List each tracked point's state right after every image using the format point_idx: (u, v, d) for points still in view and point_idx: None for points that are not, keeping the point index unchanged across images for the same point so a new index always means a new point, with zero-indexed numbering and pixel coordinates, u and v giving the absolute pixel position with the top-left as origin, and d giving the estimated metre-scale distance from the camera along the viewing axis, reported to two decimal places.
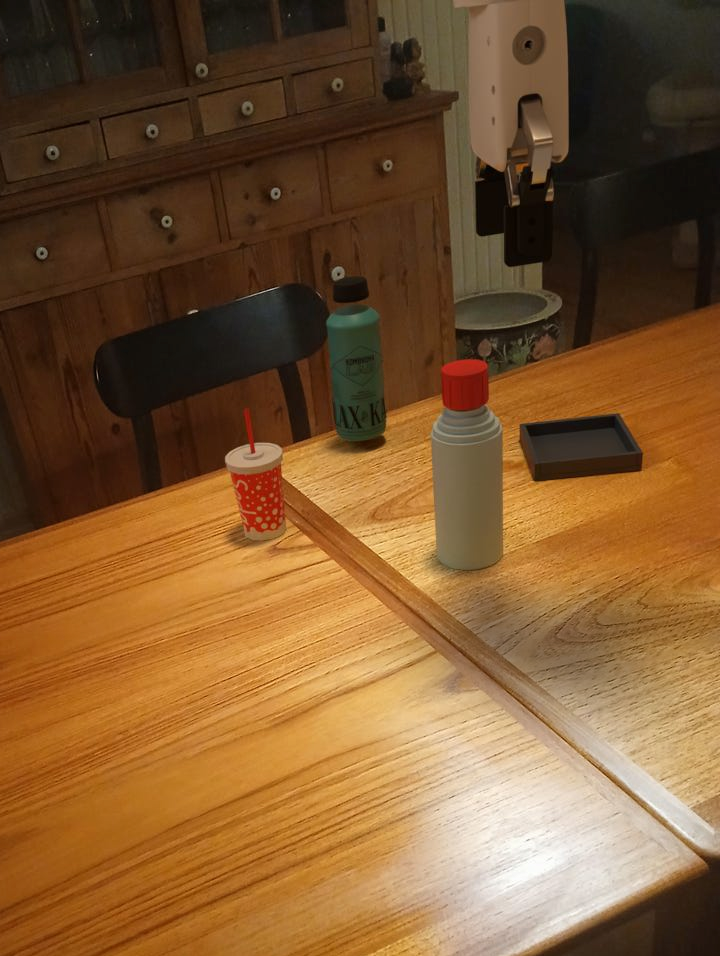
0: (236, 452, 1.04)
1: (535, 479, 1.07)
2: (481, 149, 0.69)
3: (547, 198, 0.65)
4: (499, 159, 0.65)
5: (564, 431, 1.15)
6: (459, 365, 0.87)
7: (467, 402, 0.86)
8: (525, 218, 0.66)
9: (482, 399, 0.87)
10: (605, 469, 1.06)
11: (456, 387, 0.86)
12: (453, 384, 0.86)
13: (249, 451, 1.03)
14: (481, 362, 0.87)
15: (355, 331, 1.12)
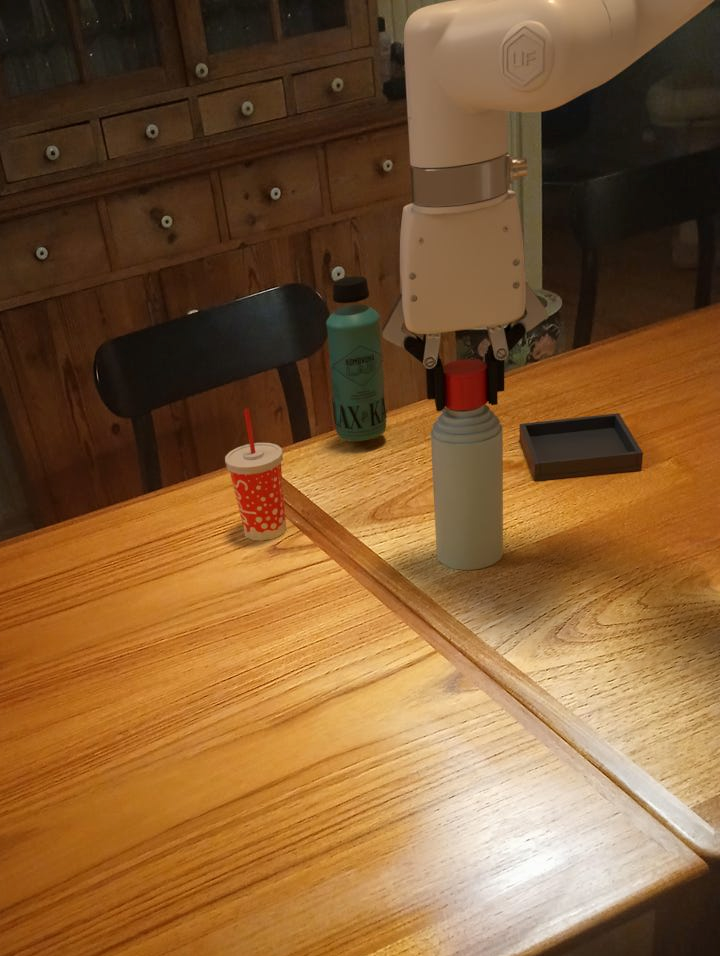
0: (236, 452, 1.04)
1: (535, 479, 1.07)
2: (467, 318, 0.82)
3: None
4: (520, 311, 0.82)
5: (564, 431, 1.15)
6: (459, 365, 0.87)
7: (467, 402, 0.86)
8: (503, 364, 0.86)
9: (482, 399, 0.87)
10: (605, 469, 1.06)
11: (456, 387, 0.86)
12: (453, 384, 0.86)
13: (249, 451, 1.03)
14: (481, 362, 0.87)
15: (355, 331, 1.12)
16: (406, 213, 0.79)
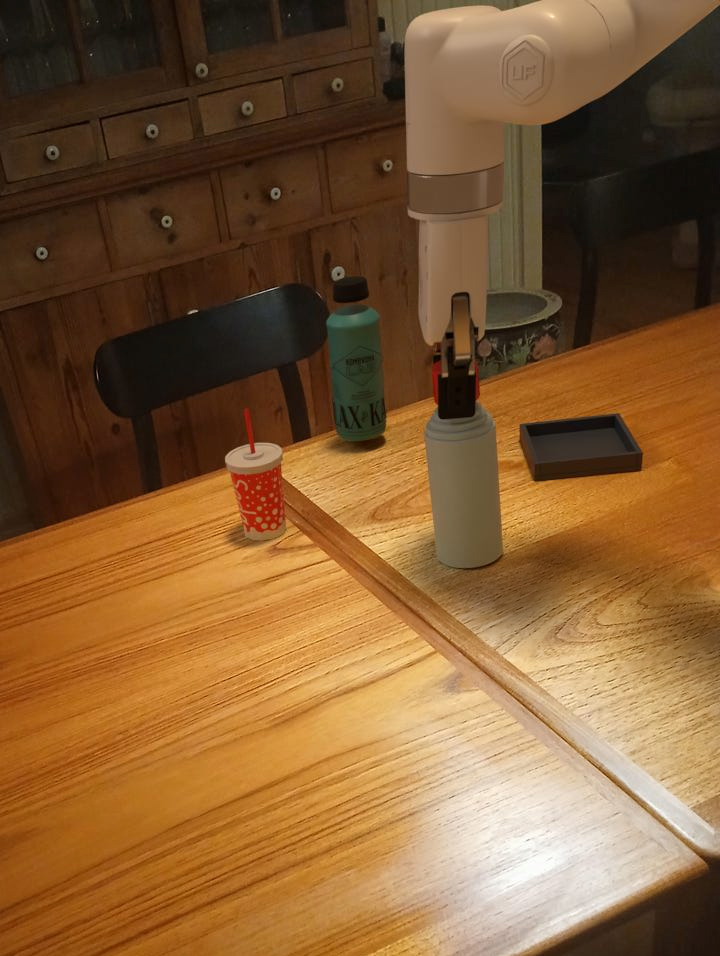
0: (236, 452, 1.04)
1: (535, 479, 1.07)
2: None
3: None
4: None
5: (564, 431, 1.15)
6: None
7: (478, 387, 0.88)
8: None
9: None
10: (605, 469, 1.06)
11: (476, 376, 0.86)
12: None
13: (249, 451, 1.03)
14: None
15: (355, 331, 1.12)
16: (470, 221, 0.76)
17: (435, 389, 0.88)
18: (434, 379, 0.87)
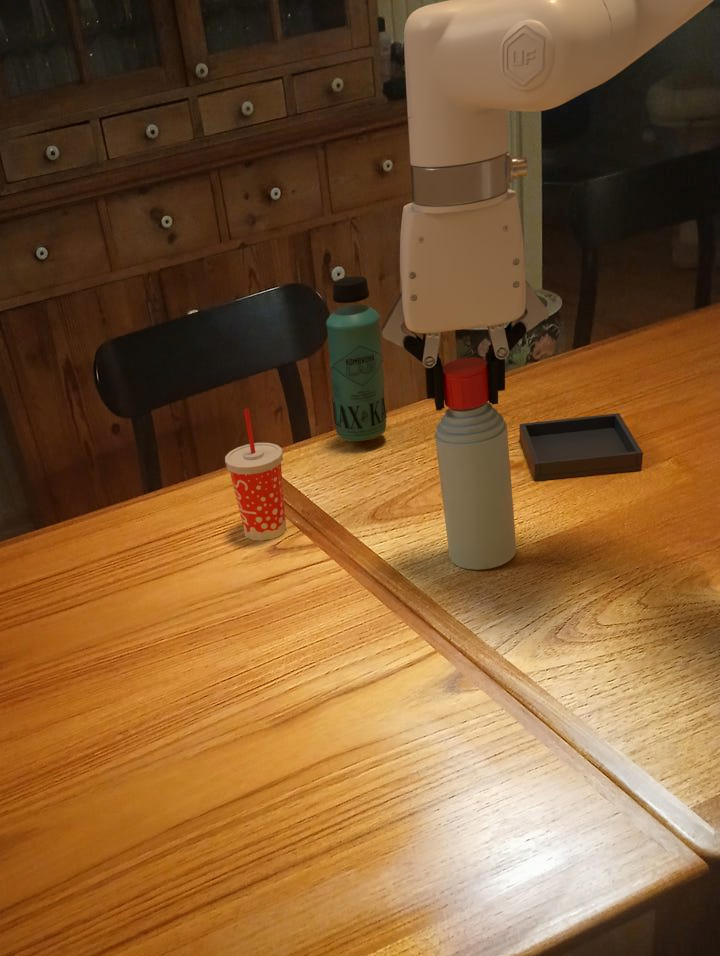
0: (236, 452, 1.04)
1: (535, 479, 1.07)
2: (467, 317, 0.82)
3: None
4: (521, 310, 0.82)
5: (564, 431, 1.15)
6: (457, 368, 0.86)
7: None
8: (504, 363, 0.86)
9: None
10: (605, 469, 1.06)
11: (487, 377, 0.86)
12: (485, 376, 0.85)
13: (249, 451, 1.03)
14: (454, 361, 0.87)
15: (355, 331, 1.12)
16: (406, 212, 0.79)
17: (445, 392, 0.87)
18: (444, 382, 0.86)
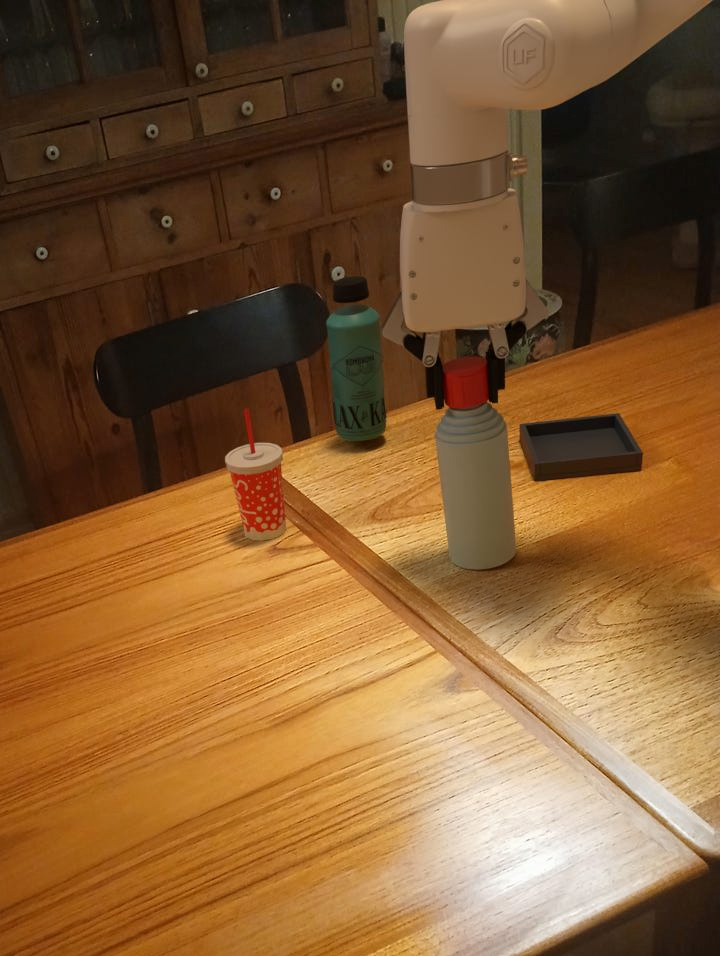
0: (236, 452, 1.04)
1: (535, 479, 1.07)
2: (467, 316, 0.82)
3: None
4: (520, 309, 0.82)
5: (564, 431, 1.15)
6: (469, 366, 0.85)
7: None
8: (504, 363, 0.86)
9: None
10: (605, 469, 1.06)
11: None
12: None
13: (249, 451, 1.03)
14: (447, 371, 0.86)
15: (355, 331, 1.12)
16: (406, 211, 0.79)
17: (477, 389, 0.85)
18: (476, 379, 0.85)
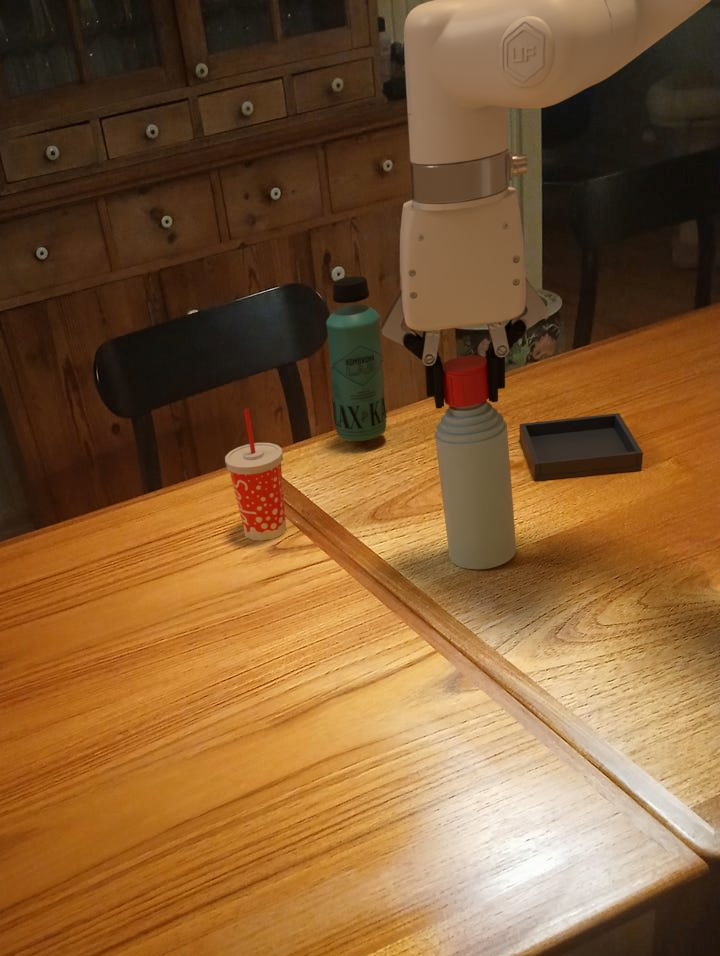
0: (236, 452, 1.04)
1: (535, 479, 1.07)
2: (467, 315, 0.82)
3: None
4: (520, 308, 0.81)
5: (564, 431, 1.15)
6: (470, 361, 0.86)
7: (444, 395, 0.88)
8: (504, 361, 0.86)
9: (452, 400, 0.87)
10: (605, 469, 1.06)
11: None
12: None
13: (249, 451, 1.03)
14: (474, 368, 0.85)
15: (355, 331, 1.12)
16: (406, 210, 0.79)
17: None
18: None
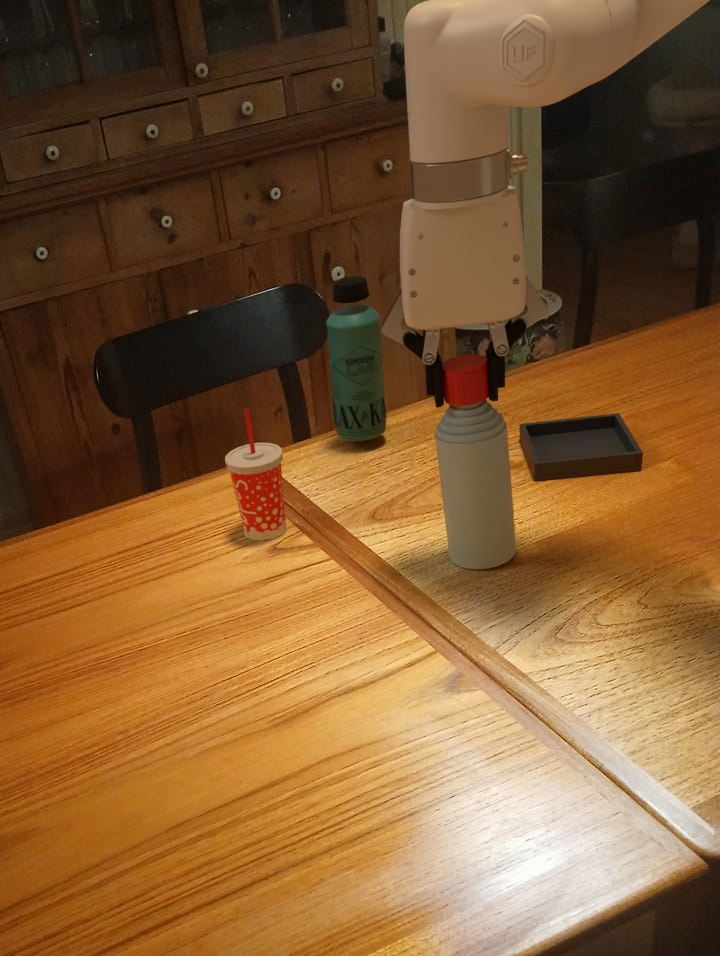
0: (236, 452, 1.04)
1: (535, 479, 1.07)
2: (467, 314, 0.82)
3: None
4: (520, 307, 0.81)
5: (564, 431, 1.15)
6: (458, 361, 0.87)
7: (470, 396, 0.86)
8: (504, 360, 0.85)
9: (485, 393, 0.86)
10: (605, 469, 1.06)
11: (458, 383, 0.85)
12: (455, 380, 0.85)
13: (249, 451, 1.03)
14: (480, 356, 0.86)
15: (355, 331, 1.12)
16: (406, 208, 0.79)
17: None
18: None
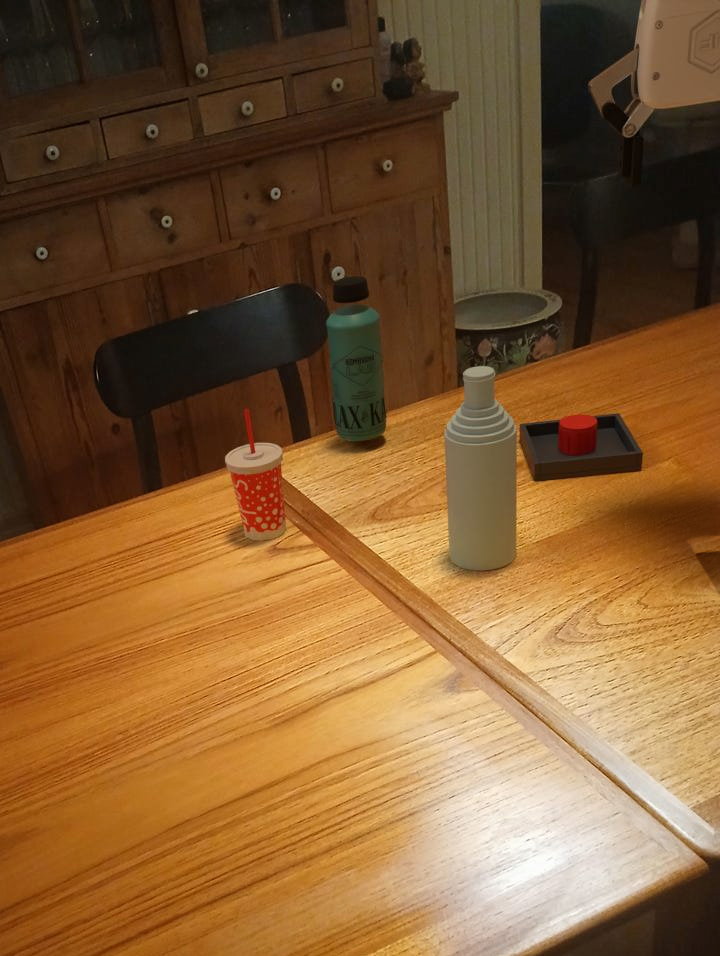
0: (236, 452, 1.04)
1: (535, 479, 1.07)
2: None
3: (621, 133, 0.81)
4: None
5: None
6: (583, 422, 1.09)
7: None
8: (620, 145, 0.83)
9: None
10: (605, 469, 1.06)
11: None
12: None
13: (249, 451, 1.03)
14: (565, 425, 1.09)
15: (355, 331, 1.12)
16: None
17: (589, 441, 1.09)
18: (589, 433, 1.08)
